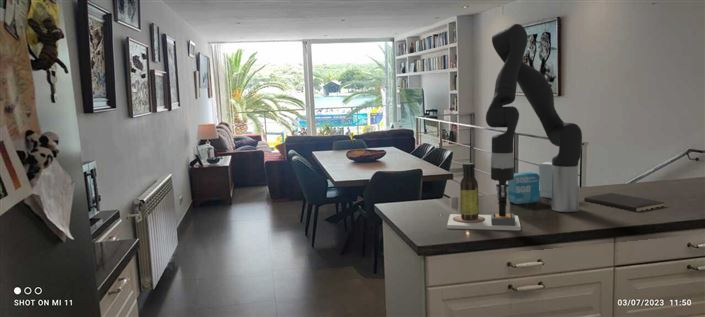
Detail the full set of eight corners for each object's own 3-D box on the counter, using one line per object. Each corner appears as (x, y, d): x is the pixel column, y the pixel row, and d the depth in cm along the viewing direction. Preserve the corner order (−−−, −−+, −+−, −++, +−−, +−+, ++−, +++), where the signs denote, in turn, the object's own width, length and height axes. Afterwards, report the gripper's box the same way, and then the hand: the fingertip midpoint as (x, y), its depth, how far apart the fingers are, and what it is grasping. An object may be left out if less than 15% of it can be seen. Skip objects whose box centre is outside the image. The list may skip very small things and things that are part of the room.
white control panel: (517, 218, 186) (517, 209, 186) (520, 230, 171) (520, 219, 170) (450, 217, 192) (450, 207, 192) (447, 228, 177) (447, 218, 176)
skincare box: (564, 197, 219) (564, 162, 217) (555, 199, 215) (555, 164, 213) (547, 194, 226) (547, 161, 224) (538, 196, 222) (538, 162, 220)
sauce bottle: (481, 219, 181) (481, 163, 179) (465, 221, 180) (464, 165, 177) (473, 215, 187) (473, 161, 185) (457, 217, 186) (456, 162, 183)
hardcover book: (611, 198, 217) (611, 192, 216) (664, 208, 196) (664, 202, 196) (584, 202, 210) (584, 197, 210) (635, 213, 189) (636, 207, 189)
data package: (514, 204, 209) (514, 175, 208) (507, 202, 213) (507, 173, 212) (539, 201, 212) (539, 173, 211) (532, 199, 217) (532, 171, 215)
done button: (510, 219, 178) (510, 214, 178) (510, 223, 174) (510, 217, 173) (495, 219, 180) (495, 213, 179) (495, 222, 175) (495, 217, 175)
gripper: (490, 163, 182) (490, 211, 184) (491, 168, 169) (491, 220, 171) (512, 162, 180) (512, 211, 182) (515, 168, 167) (514, 220, 169)
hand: (502, 215), depth 176 cm, fingers closed
